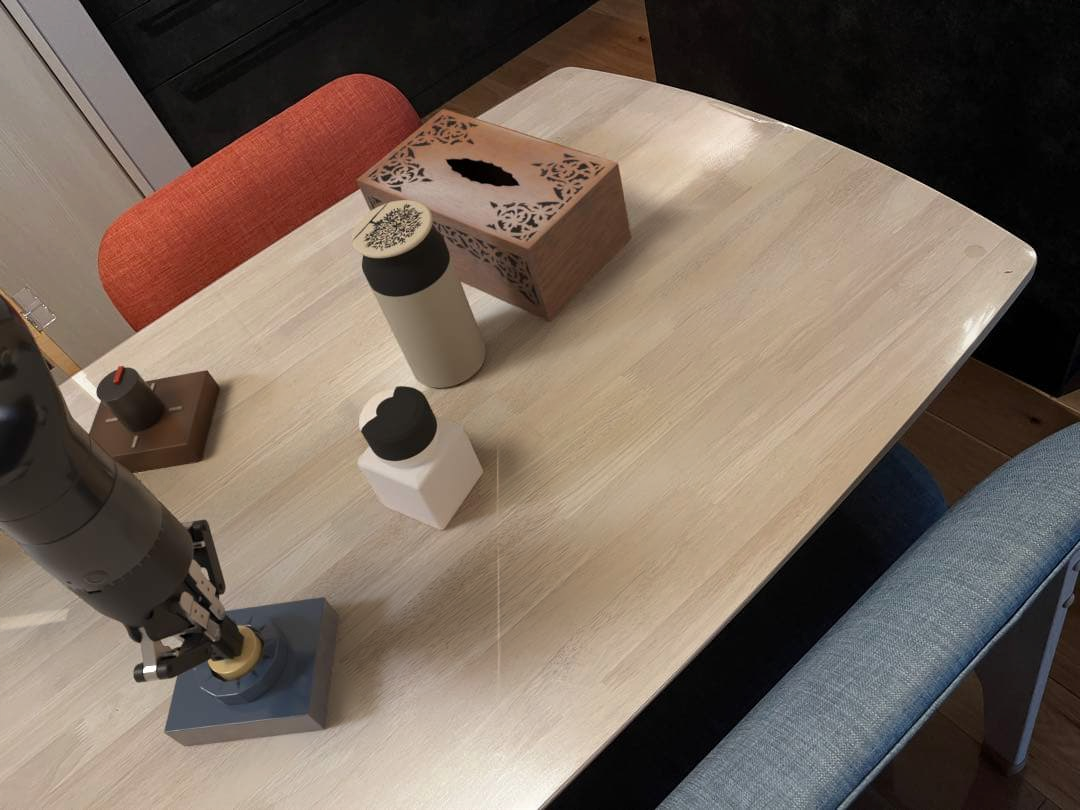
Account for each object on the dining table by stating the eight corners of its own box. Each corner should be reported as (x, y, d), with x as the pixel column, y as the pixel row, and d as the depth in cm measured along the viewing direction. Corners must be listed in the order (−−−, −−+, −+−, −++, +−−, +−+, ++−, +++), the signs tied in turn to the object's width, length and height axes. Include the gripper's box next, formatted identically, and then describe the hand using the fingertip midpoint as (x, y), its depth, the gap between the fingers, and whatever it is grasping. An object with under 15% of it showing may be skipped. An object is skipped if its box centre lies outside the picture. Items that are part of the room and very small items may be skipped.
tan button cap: (215, 686, 72) (202, 676, 70) (224, 639, 74) (212, 628, 73) (262, 680, 71) (250, 669, 70) (270, 633, 74) (259, 622, 72)
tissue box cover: (386, 247, 109) (356, 180, 101) (466, 177, 114) (443, 108, 107) (549, 321, 95) (528, 249, 87) (631, 237, 100) (618, 162, 93)
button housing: (184, 747, 73) (150, 724, 69) (209, 631, 80) (179, 605, 76) (325, 730, 71) (298, 706, 68) (338, 613, 78) (315, 586, 74)
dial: (158, 427, 93) (130, 394, 89) (119, 434, 94) (89, 402, 90) (168, 395, 96) (140, 361, 92) (129, 402, 96) (100, 369, 92)
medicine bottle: (485, 471, 84) (448, 388, 75) (443, 533, 81) (399, 454, 72) (425, 448, 88) (382, 366, 79) (382, 506, 84) (332, 428, 75)
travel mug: (502, 348, 94) (452, 211, 80) (451, 401, 91) (390, 267, 77) (448, 322, 98) (391, 188, 85) (397, 372, 95) (330, 240, 81)
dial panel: (95, 479, 95) (77, 461, 92) (120, 405, 101) (104, 387, 99) (201, 461, 93) (186, 443, 91) (220, 387, 99) (206, 368, 97)
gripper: (81, 459, 63) (204, 580, 76) (17, 637, 54) (168, 739, 67) (181, 442, 62) (288, 568, 75) (131, 621, 53) (262, 727, 66)
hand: (231, 649), depth 71 cm, fingers closed
